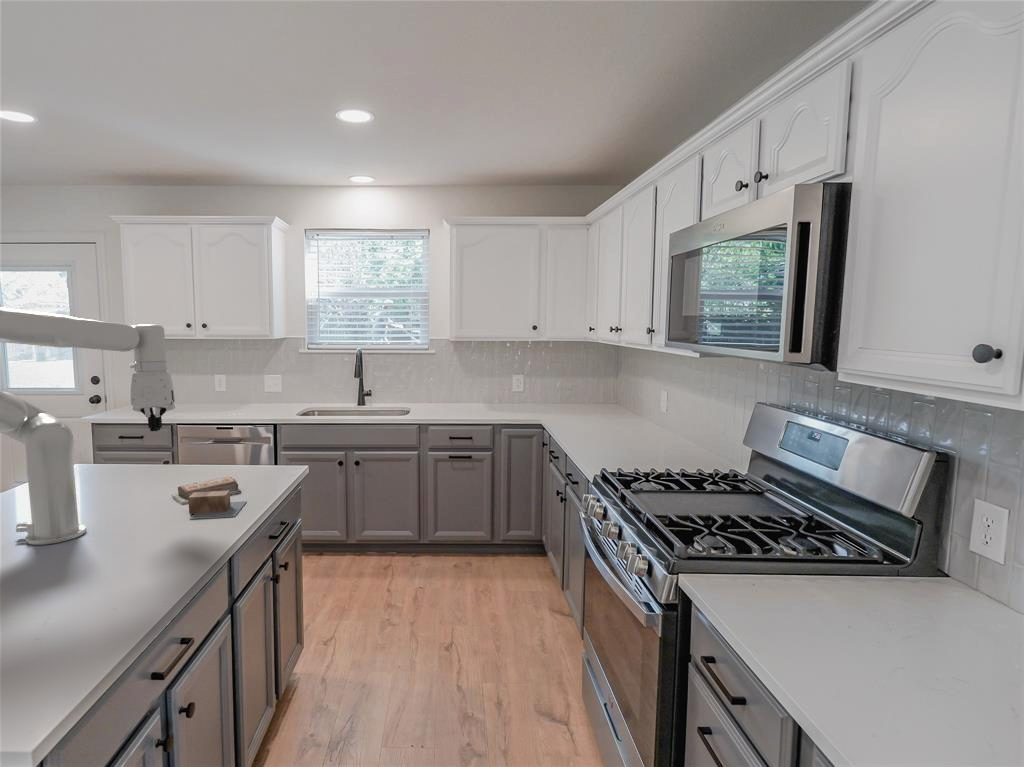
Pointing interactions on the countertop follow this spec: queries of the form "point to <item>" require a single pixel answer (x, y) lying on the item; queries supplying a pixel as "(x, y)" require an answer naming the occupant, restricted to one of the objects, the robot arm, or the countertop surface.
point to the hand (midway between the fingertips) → (155, 430)
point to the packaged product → (206, 488)
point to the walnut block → (209, 502)
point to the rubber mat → (229, 513)
